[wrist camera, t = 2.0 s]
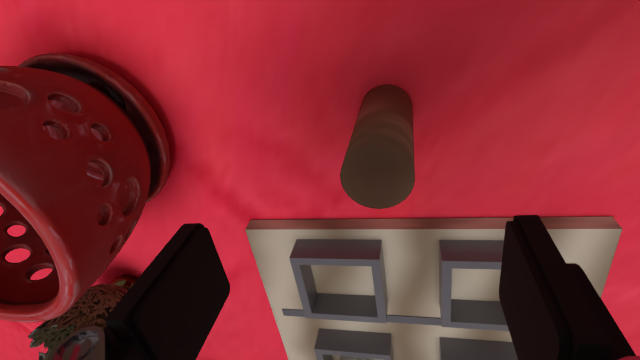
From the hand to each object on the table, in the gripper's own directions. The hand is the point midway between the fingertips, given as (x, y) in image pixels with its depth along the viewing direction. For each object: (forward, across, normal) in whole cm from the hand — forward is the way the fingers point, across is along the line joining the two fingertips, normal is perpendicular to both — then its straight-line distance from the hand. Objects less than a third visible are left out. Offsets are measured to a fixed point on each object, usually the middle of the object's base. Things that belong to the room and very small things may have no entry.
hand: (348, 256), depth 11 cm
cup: (+13, +25, +16) cm, 32 cm away
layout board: (+12, -2, +17) cm, 21 cm away
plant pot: (+13, +19, 0) cm, 23 cm away
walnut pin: (+12, -1, 0) cm, 12 cm away
